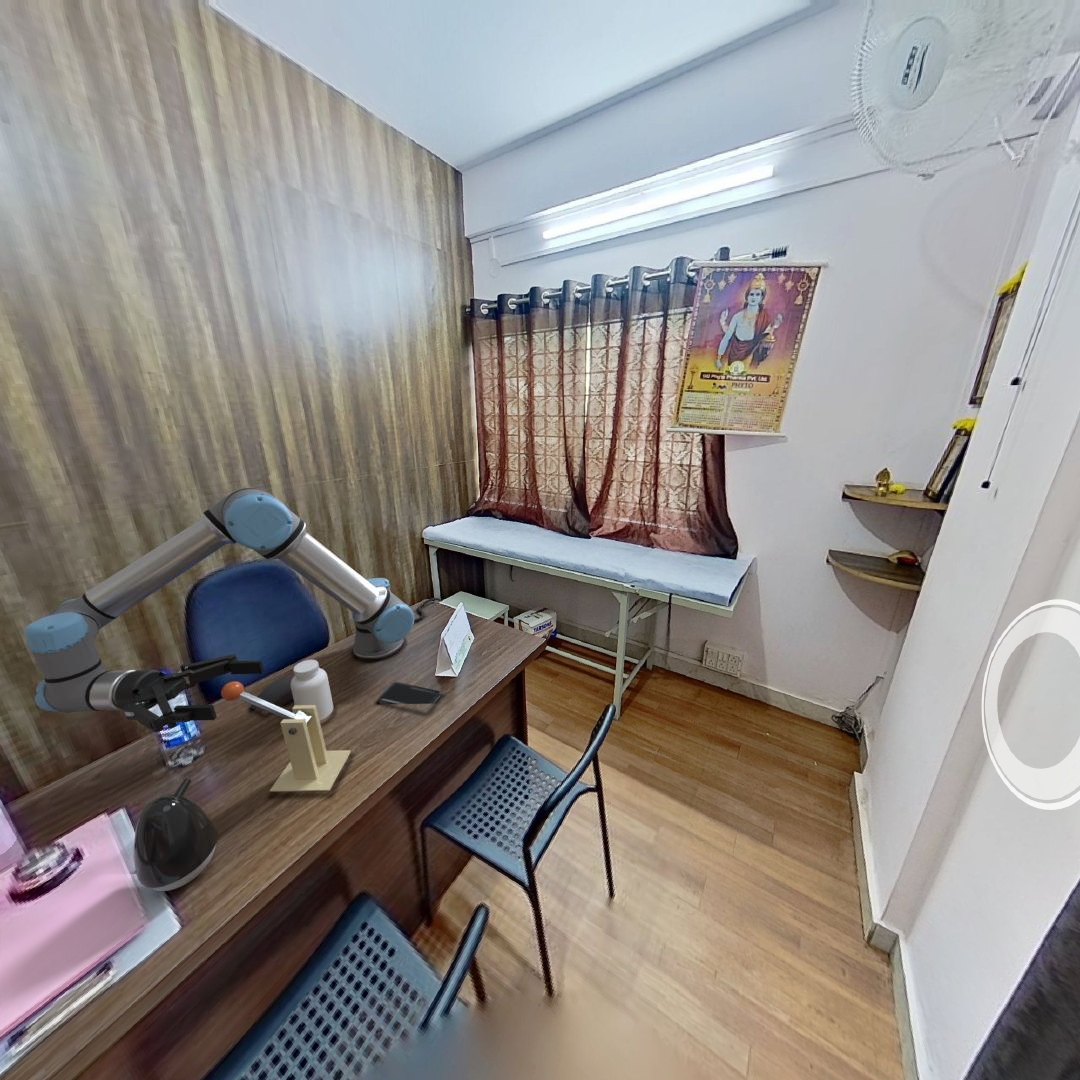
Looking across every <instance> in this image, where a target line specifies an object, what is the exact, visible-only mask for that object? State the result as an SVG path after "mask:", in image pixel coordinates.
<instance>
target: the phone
mask: <svg viewBox="0 0 1080 1080" xmlns="http://www.w3.org/2000/svg"><path fill="white" fill-rule="evenodd" d="M441 698H442V693H441V691H440V690H436V689H433V688H428V687H423V686H418V685H413V684H410V683H405V682H400V681H395V682H393V683H391V685H390V686H389V687H388V688H387V689H386V690H385V691H383V693H381V694H380V695H379V697H378V703H379V704H380V705H432V704H433V705H434V704H435V705H436V704H437V703H438V702H439V700H441Z"/></svg>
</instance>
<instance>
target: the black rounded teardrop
mask: <svg viewBox="0 0 1080 1080" xmlns="http://www.w3.org/2000/svg"><path fill="white" fill-rule="evenodd" d="M191 782H192V780H191V778H184V779H183V781H182V782H181V784H180V785H179V786H178V788H177V789H176V791H175V792H174V793H173V794H165V795H162V796H159V797H157V798H156V799H154V800H152V801H151V802H150V803H149V804H148V805H147V806H145V808H144V809H143V810H142V812H141V814H140V816H139V818H138V821H137V824H136V827H135V830H134V831H135V832H134V837H133V839H134V840H133V863H134V869H135V874H136V878H137V880H138V882H139V884H140V885H141V886H143V887H145V888H149V889H150V890H153V891H157V892H168V891H173V890H176V889H179V888H181V887H183V886H184V885H187V884H188V883H190V882H192V880H195V878H197V877H198V876H199V875H200V874H201V873H202V872H203V871H204V870H205V868H206V867H207V866H208V865H209V863H210V861H211V860H212V858H213V856H214V854H215V850H216V846H217V842H218V837H219V833H218V830H217V828H216V826H215V823H214V822H213V820H212V819H211V817H210V816H209V815H208V813H207V812H206V811H205V810H204V809H203V808H202V807H201V806H200V805H198V804H197V803H196V802H195V801H193V800H191V799H190V798H187V797H186V796H185V794H186V792H187V790H188V788H189V786H190V784H191Z"/></svg>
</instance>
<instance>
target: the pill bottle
mask: <svg viewBox="0 0 1080 1080" xmlns="http://www.w3.org/2000/svg"><path fill="white" fill-rule="evenodd" d="M319 664H320V663H319V662H318V661H317V660H316V659H305V660H303V661H301V662H298V663H297V664H296V665H295V666H293V669H292V670H293V675H295V676H294V677H293V679H292V681H291V690H292V694H293V699H292V700H293V702H294V706H295V705H316V708H317V712H318V716H319V721H320V722H321V721H323V720H325V719H327V718H328V717H329V716H330V715H331V714H332V713H333V711H334V702H333V699H332V698H333V697H332V693H331V687H330V683H329V678H328V677H329V676H328V673H327V671H325V670H324V669H323V668H320V665H319Z"/></svg>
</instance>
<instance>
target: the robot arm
mask: <svg viewBox="0 0 1080 1080" xmlns="http://www.w3.org/2000/svg"><path fill="white" fill-rule="evenodd" d="M200 517H201V518H200V519H199V520H198V521H196V522H195V523H193V524H191V525H190V526H188V527H187V528H185V529H184V530H182V531H180V532H179V533H177V534H176V535H174V536H172V537H171V538H170V539H168V540H166V541H165V542H163V543H161V544H160V545H158V546H157V547H155V548H154V549H152V550H150V551H149V552H147V553H146V554H144V555H142V556H141V557H139V558H137V559H136V560H134V561H133V562H131V563H130V564H128V565H127V566H125V567H124V568H122V569H120V570H119V571H118V572H116V573H114V574H113V575H111V576H110V577H108V578H106V579H105V580H103V581H102V582H100V583H99V584H97V585H96V586H93V587H92V588H90V589H89V590H87V591H86V592H85V593H83V594H81V595H80V596H77V597H76V598H71V599H68V600H66V601H64V602H62V603H61V604H60V605H59V606H58V607H56V608H55V609H54V610H53V612H52V613H51V614H50V615H48V616H44V617H42V618H39V619H37V620H35V621H34V622H30V623H29V624H28V625H27V626H26V627H25V628H24V630H23V633H24V636H25V639H26V646H27V648H28V649H29V651H30V652H31V654H32V656H33V658H34V661H35V662H36V664H37V666H38V669H39V670H40V672H41V675H42V677H43V679H42V680H41V681H40V683H38V685H37V687H36V689H35V696H34V702H35V704H36V706H37V707H38V708H40V709H41V710H43V711H47V712H57V713H64V714H65V713H66V714H67V713H68V714H69V713H79V712H105V711H106V712H107V711H109V712H110V711H112V712H113V711H123V713H124V715H125V718H126V720H128V721H129V720H131V721H136V722H138V723H140V724H141V725H143V726H144V727H146V728H147V729H149V730H151V731H152V732H154V733H159V732H161V731H163V730H164V727H165V726H167V728H168V729H173V728H175V727H176V726H177V725H178V723H188V722H191V721H195V722H196V721H215V720H216V719H217V718H218V716H217V713H216V710H215V707H214V704H188V705H185V704H184V705H183V704H182V705H180V704H179V705H175V707H173V708H172V707H171V705H170V703H169V701H171V700H173V699H175V698H177V697H178V696H179V694H181V693H182V692H184V691H186V690H189V689H192V688H194V687H196V685H197V684H200V683H203V682H205V681H209V680H211V679H215V678H218V677H220V676H223V675H227V674H229V673H231V675H263V674H264V672H265V669H264V664H263V662H262V660H238V656H237V654H236V653H233V654H229V655H225V656H224V655H223V656H219V657H215V658H211V659H206V660H201V661H197V662H192V663H191V662H190V663H183V664H180V666H179V668H180V669H179V671H177V672H173V673H168V674H167V673H165V672H163V671H160V670H158V669H118V670H117V669H116V670H105V668H104V665H103V662H102V659H101V657H100V655H99V652H98V650H97V647H96V643H95V641H96V639H97V635H98V633H99V631H100V630H101V629H103V628H104V627H106V626H107V625H108V624H110V623H111V622H113V621H114V620H116V619H117V618H118V617H119V616H121V615H123V614H125V612H127V611H128V610H130V609H132V608H134V607H135V606H136V605H138V604H139V603H141V602H142V601H144V600H145V599H146V598H148V597H149V596H151V595H153V594H154V593H156V592H157V591H158V590H160V589H162V588H163V587H165V586H166V585H167V584H169V583H170V582H172V581H173V580H175V579H177V578H178V577H179V576H181V575H182V574H184V573H186V572H187V571H189V570H190V569H191V568H193V567H194V566H196V565H197V564H199V563H200V562H202V561H204V560H205V559H207V557H209V556H211V555H212V554H214V553H215V552H217V551H218V550H220V549H221V548H223V547H224V546H226V545H235V544H236V543H237V544H238V545H241V546H243V547H245V548H247V549H250V550H253V551H254V552H256V553H257V554H259V555H260V556H261V557H262V558H264V559H266V560H268V561H269V560H279V561H281V562H282V563H283V564H285V565H286V566H288V567H289V568H291V569H292V570H293V571H295V572H296V573H297V574H299V575H300V576H302V577H303V578H304V579H306V580H307V581H309V582H310V583H311V584H313V585H314V586H316V587H317V588H319V590H321V591H323V592H324V593H326V594H327V595H328V596H330V597H331V598H333V599H334V600H335V601H337V602H338V603H340V605H342V606H344V607H345V608H346V609H348V610H349V611H351V612H352V619H353V621H354V626H355V636H354V642H353V646H352V651H353V655H354V656H355V658H356V659H358V660H359V661H360V660H361V661H366V662H367V661H368V662H372V661H373V662H374V661H380V660H384V659H386V658H387V659H388V658H389V657H392V656H393V655H396V654H397V653H398V652H400V651H401V650H402V648H403V647H404V645H405V640H404V638H406V637H407V636H408V635H409V634H410V633H411V631H412V629H413V626H414V624H415V623H417V622H419V621H420V620H422V619H424V617H425V612H424V611H423V610H421V608H422V607H424V606H425V605H426V604H428V603H430V602H431V603H432V602H435V601H438V602H442V598H439V597H431V598H429V599H427V600H425V601H423V602H422V603H423V604H422V603H420V604H421V605H420V604H419V605H418V606H417V611H418V612H419V614H420V616H419V617H417V618H415V613H414V611H413V610H412V608H411V606H410V605H408V604H407V603H405V602H404V601H402V599H400V597H398V596H396V595H395V594H394V593H393V592H392V591H391V584H390V581H389V579H387V578H385V577H374V578H373V577H372V578H368V579H366V578H365V577H364V576H362V575H361V574H360V573H359V572H357V571H356V570H355V569H353V568H352V567H351V566H350V565H348V563H346V562H345V561H344V560H342V559H341V558H340V557H339V556H337V555H336V554H335V553H334V552H332V551H331V550H330V549H329V548H327V547H326V546H325V545H324V544H322V542H321V543H320V541H318V540H317V539H316V538H314V537H313V536H312V535H311V534H309V532H307V527H306V526H307V525H306V522H305V521H304V520H303V519H302V518H300V517H299V516H298V515H297V514H295V513H294V512H293V511H292V510H291V509H289V508H288V507H287V506H286V505H285V504H284V503H283V502H282V501H280V500H279V499H278V498H276V497H275V496H274V495H272V493H270V492H268V491H267V490H264V489H262V488H259V487H250V486H249V487H241V488H239V489H238V488H237V489H235V490H233V491H232V492H230V493H228V494H227V495H226V496H224V497H223V498H222V499H221V500H219V501H218V502H217V503H215V504H214V505H212V506H210V507H209V508H207V509H206V510H205V511H203V512H202V513H201V516H200ZM186 678H187V679H188V681H189V682H188V683H187V681H186ZM155 706H158V707H159V710H160V712H161V715H160V716H159V715H158V714H156V713H154V712H153V711H151V710H150V709H153V708H154V707H155Z"/></svg>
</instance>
